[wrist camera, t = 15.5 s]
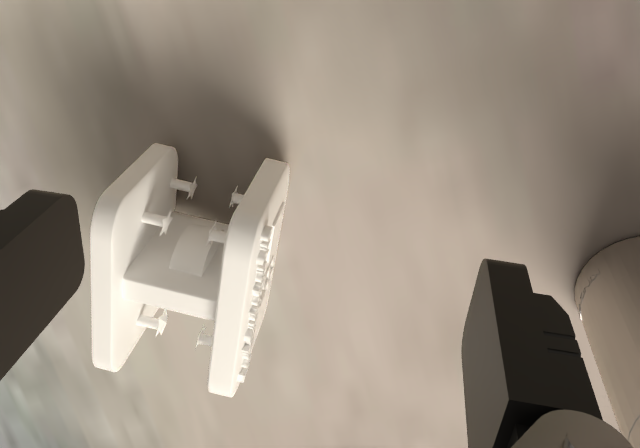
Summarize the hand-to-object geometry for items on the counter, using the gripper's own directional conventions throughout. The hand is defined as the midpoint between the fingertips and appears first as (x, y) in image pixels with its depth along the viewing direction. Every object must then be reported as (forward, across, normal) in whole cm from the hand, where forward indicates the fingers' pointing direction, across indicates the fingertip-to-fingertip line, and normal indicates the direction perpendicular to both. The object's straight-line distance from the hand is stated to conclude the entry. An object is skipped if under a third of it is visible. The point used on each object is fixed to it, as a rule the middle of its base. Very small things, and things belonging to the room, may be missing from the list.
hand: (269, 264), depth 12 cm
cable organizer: (+30, +10, +18) cm, 37 cm away
